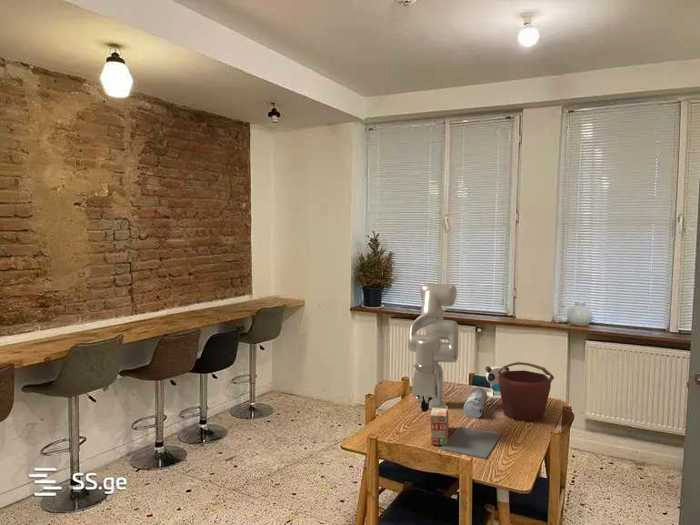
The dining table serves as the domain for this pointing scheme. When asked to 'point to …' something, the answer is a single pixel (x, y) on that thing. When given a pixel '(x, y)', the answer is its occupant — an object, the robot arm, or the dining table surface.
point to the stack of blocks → (439, 425)
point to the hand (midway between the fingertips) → (424, 410)
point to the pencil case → (475, 403)
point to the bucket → (524, 393)
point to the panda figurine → (494, 380)
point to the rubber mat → (472, 442)
